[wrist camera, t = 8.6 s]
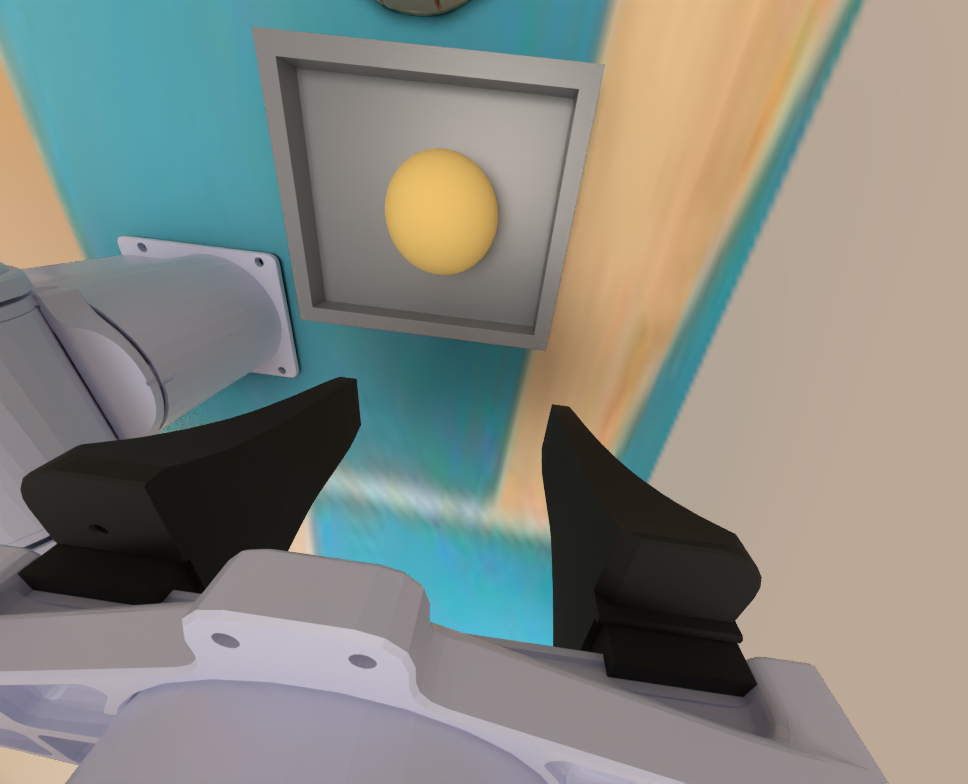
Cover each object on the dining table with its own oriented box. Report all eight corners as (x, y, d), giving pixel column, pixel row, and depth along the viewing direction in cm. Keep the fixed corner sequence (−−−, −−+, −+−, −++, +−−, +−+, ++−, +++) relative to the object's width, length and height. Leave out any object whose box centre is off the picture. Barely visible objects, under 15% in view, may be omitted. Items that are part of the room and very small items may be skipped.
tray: (320, 308, 22) (300, 319, 20) (285, 48, 16) (251, 26, 14) (543, 336, 21) (545, 350, 19) (593, 81, 15) (604, 64, 13)
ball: (403, 262, 19) (374, 281, 15) (398, 152, 16) (361, 134, 12) (494, 268, 19) (493, 289, 15) (502, 158, 16) (503, 144, 12)
